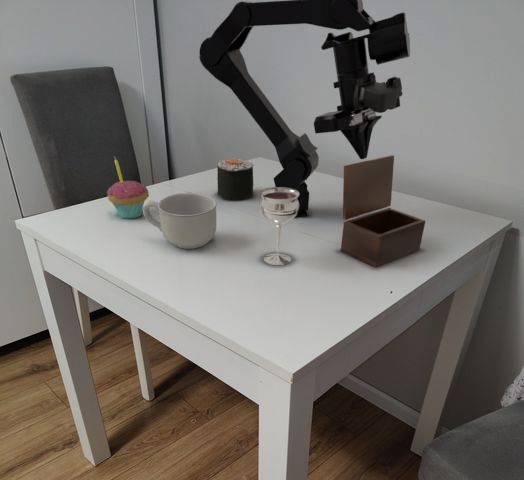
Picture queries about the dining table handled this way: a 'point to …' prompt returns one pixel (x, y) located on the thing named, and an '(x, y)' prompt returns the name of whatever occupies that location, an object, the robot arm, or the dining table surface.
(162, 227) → the teacup
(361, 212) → the lid
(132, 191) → the cupcake
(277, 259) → the wineglass
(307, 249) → the dining table surface
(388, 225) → the chest
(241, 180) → the sushi
